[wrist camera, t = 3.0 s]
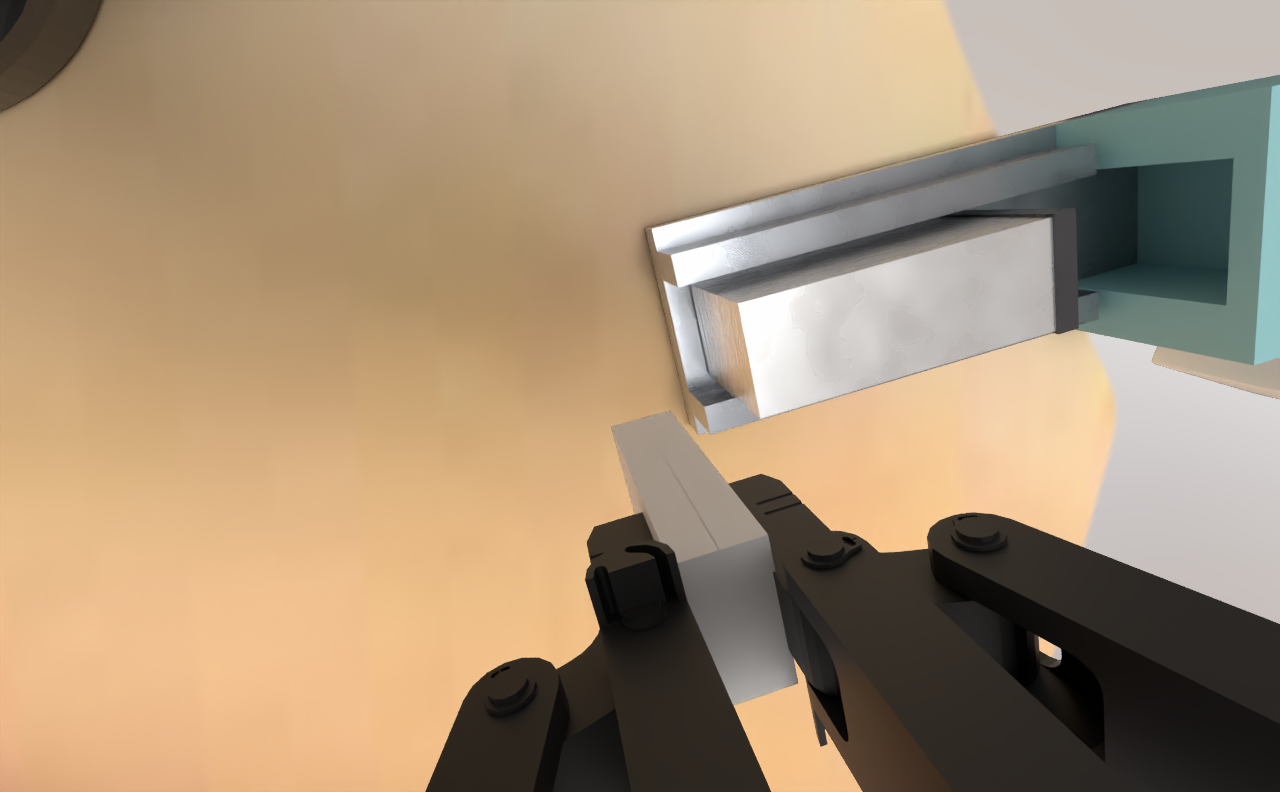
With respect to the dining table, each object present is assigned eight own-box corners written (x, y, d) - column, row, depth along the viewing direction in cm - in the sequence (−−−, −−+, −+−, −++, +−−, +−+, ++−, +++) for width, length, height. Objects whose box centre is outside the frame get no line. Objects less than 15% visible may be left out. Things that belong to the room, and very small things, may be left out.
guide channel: (644, 228, 27) (665, 230, 23) (1127, 103, 29) (1218, 86, 25) (689, 424, 29) (714, 455, 26) (1127, 295, 32) (1209, 306, 28)
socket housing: (1055, 124, 27) (1271, 86, 19) (1158, 97, 28) (1409, 50, 20) (1062, 326, 30) (1253, 365, 22) (1155, 299, 30) (1375, 327, 22)
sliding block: (689, 282, 26) (738, 301, 20) (955, 210, 27) (1076, 208, 21) (709, 378, 27) (762, 422, 21) (963, 305, 28) (1078, 328, 23)
